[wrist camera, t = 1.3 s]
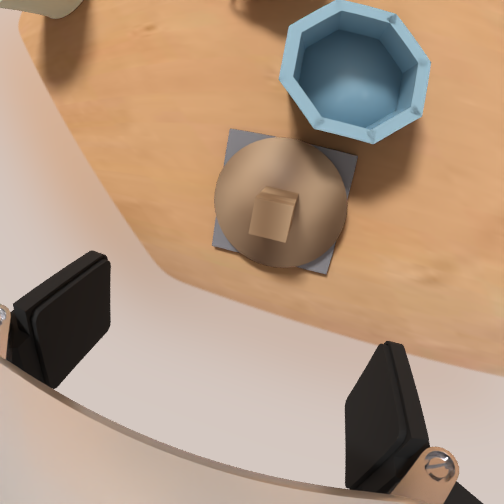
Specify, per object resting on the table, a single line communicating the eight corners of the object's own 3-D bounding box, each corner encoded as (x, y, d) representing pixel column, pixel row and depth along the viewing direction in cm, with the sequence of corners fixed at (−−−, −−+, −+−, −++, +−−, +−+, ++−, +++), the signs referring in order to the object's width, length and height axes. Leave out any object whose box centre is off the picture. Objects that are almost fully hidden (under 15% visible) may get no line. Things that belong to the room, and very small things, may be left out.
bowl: (415, 44, 22) (435, 27, 17) (396, 151, 27) (413, 156, 21) (301, 15, 24) (295, -9, 18) (280, 122, 28) (270, 120, 23)
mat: (357, 156, 28) (357, 156, 27) (326, 271, 33) (326, 274, 32) (231, 128, 29) (229, 128, 29) (213, 243, 34) (212, 245, 34)
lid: (360, 154, 27) (369, 161, 22) (327, 276, 32) (327, 307, 27) (228, 126, 29) (206, 126, 23) (209, 246, 34) (187, 270, 28)
